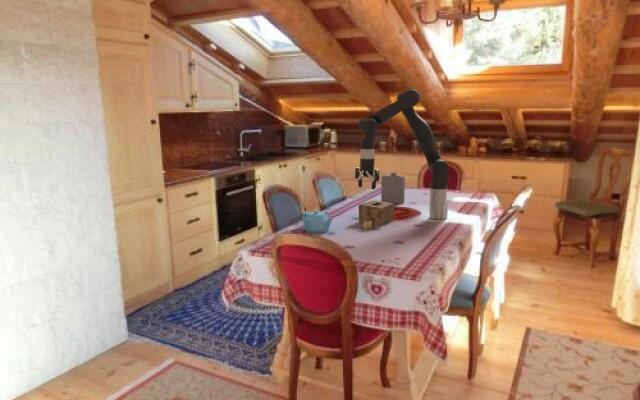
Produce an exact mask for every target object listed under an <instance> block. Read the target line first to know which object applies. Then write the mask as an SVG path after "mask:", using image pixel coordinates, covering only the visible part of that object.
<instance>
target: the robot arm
mask: <svg viewBox="0 0 640 400" xmlns="http://www.w3.org/2000/svg"><path fill="white" fill-rule="evenodd" d="M420 99H421V98H420V94H419V92H418V91H417V90H416V89H413V88H412V89H410V88H409V89H407V90H405V91H401V92H400V93H399V94H398V95H397V97H396V100H395V101H394V102H392V103H390V104H387V105H386V106H384V107H382V108H380V109H379V110H377V111H376V112H374V113H372V114H369V115H367V116H364V117H363V118H361V119H360V120H359V122H358V124H357V127H358V130H359V131H360V132H363V133H366V134H365V136H364V137H361V139H360V151H359V166H360V167H355V170H354V172H355V173H354V179H356V180H357V183H358V184H357V186H358V188H363V178H364V177H366V178H369V179H370V180H371V190H375V189H376V188H377V182H379V181H380V169H375V164H376V163H375V160H376V159H375V158H376V154H375V152H376V151H375V141H376V137H377V133H378V129H379V128H378V127H379V126H381V125H383V124H385V123H386V122H388V121H390V120H391V119H393V117H395V116H396V115H398V114H400V113H402V114H403V115H404V117H405V119H406V120H407V122H408V125H409V127H410V129H411V131H412V134H413V136H414V138H415V140H416V142H417V144H418V146H419V148H420V149H421V152H422V153H423V154H424V158H425V160H426V162H427V166H428V168H429V171H430V173H431V174H432V175H431V176H432V177H431V183H430V185H429V208H428V209H429V213H428V214H429V215H428V217H429V219H432V220H442V221H443V220H445V219H447V218H448V210H449V209H448V208H449V207H448V205H449V203H448V202H449V201H448V200H447V195H448V185H449V181H450V180H449V179H450V166H449V164H448V162H446V161H445V160H443V159H442V157H441V155H440V154H439V152H438V149H437V147H436V141H435V137H434V134H433V131H432V130H431V127H430V125H429V123H427V122H426V121H425V120H424V119H423V118H422V117H420V115H419V114H418V113H417V112H416V110H415V108H414V107H415V106H416V105H418V103H419V102H420Z"/></svg>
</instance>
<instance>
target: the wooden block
mask: <svg viewBox="0 0 640 400" xmlns="http://www.w3.org/2000/svg"><path fill="white" fill-rule="evenodd" d="M362 226H363V228H362V229H363V230H366V231H367V230H370V229H372V228H373V225H372V221H371V220H368V221H365V222H363V223H362Z"/></svg>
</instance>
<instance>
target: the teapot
mask: <svg viewBox="0 0 640 400" xmlns="http://www.w3.org/2000/svg"><path fill="white" fill-rule="evenodd" d="M332 220H333V217H332V216H329V211H328V210H324V212H321V211H319V210H318V209H314V210H313V211H311V212H308V211H306V210H305V211H303V212H302V216H301V221H302V223H303V224H302V226H303V229H304V231H305V232H306V233H309V234H321V233H322V234H323V233H326V232H327V231H329V230H330V227H331V226H330V225H331V223H332Z"/></svg>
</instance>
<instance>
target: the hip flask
mask: <svg viewBox="0 0 640 400" xmlns="http://www.w3.org/2000/svg"><path fill="white" fill-rule="evenodd" d="M405 185H406V176H402V175H398V174H397V171H391V172H390V174H389V175H388V174H387V175H386V174H381V188H380V191H381V192H380V195H381V196H380V198H381V200H380V201H381V202H388V203H394V204H402V205H404V204H405V194H406V193H405V191H406V190H405V188H406V186H405Z"/></svg>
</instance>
